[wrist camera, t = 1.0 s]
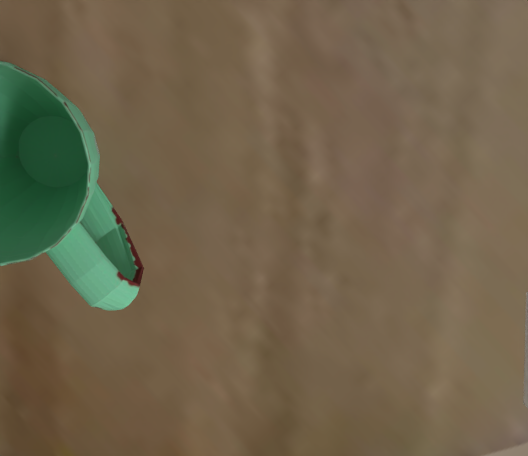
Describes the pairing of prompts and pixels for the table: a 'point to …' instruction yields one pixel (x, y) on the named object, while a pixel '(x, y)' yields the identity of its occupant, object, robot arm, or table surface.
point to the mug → (59, 193)
